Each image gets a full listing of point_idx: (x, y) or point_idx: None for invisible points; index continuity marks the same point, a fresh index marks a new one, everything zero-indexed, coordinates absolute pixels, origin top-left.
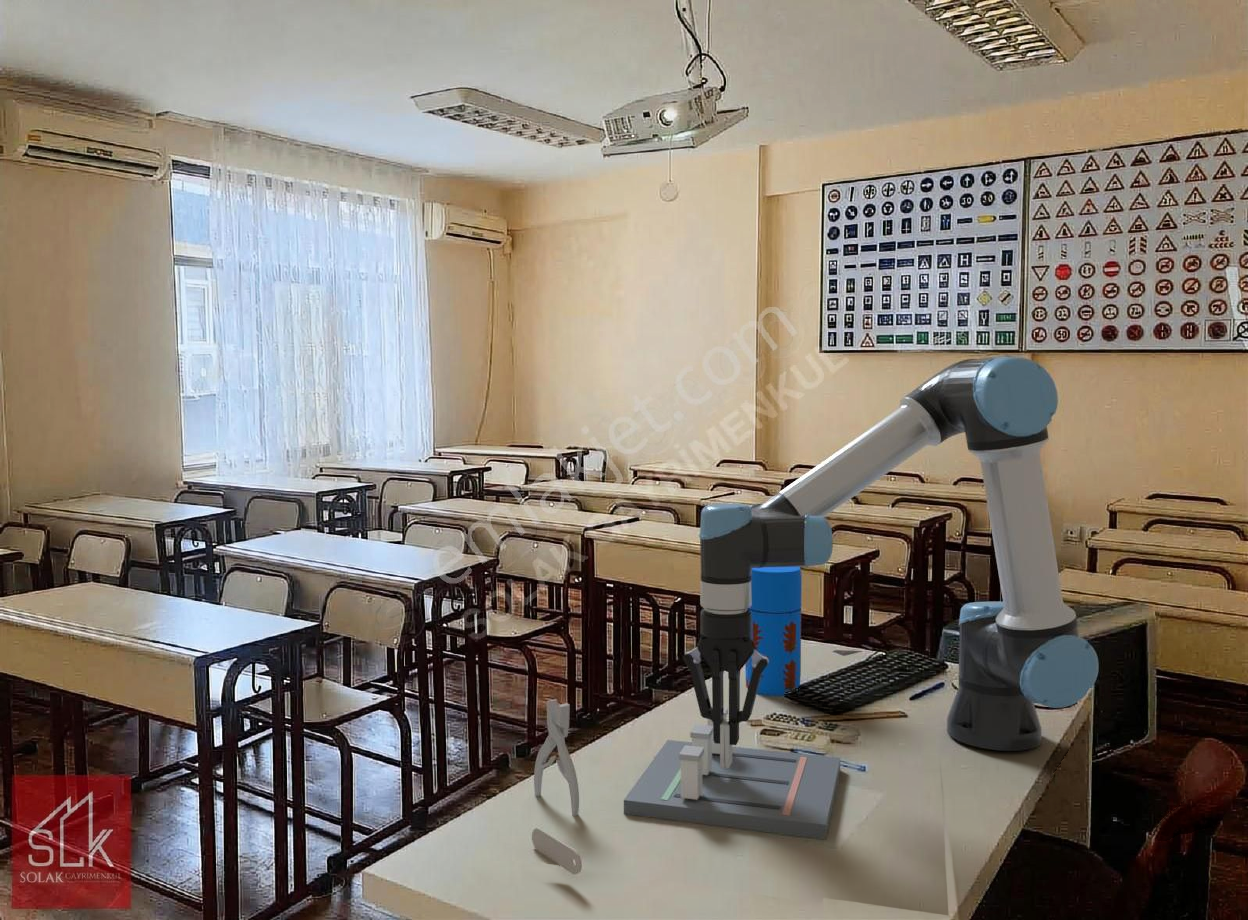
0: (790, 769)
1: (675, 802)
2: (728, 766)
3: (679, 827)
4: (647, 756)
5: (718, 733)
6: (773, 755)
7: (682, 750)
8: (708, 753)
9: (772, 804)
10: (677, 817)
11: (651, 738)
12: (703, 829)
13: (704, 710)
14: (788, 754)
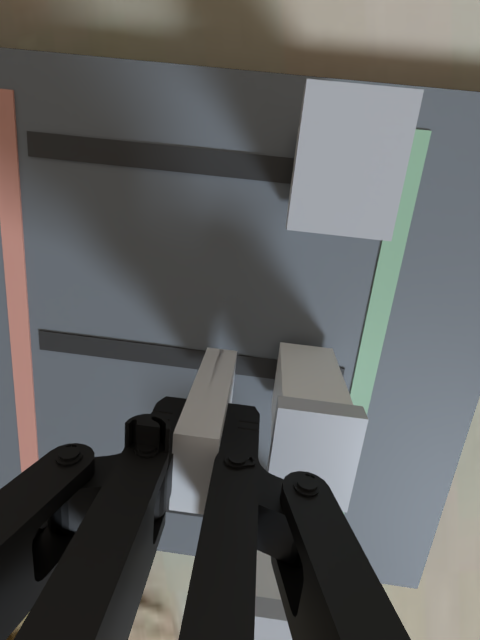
0: (53, 433)
1: None
2: (208, 349)
3: (347, 39)
4: (462, 526)
5: (235, 427)
6: None
7: (404, 156)
8: (279, 383)
9: (57, 170)
10: None
11: (452, 628)
12: (269, 42)
13: (309, 503)
14: None
